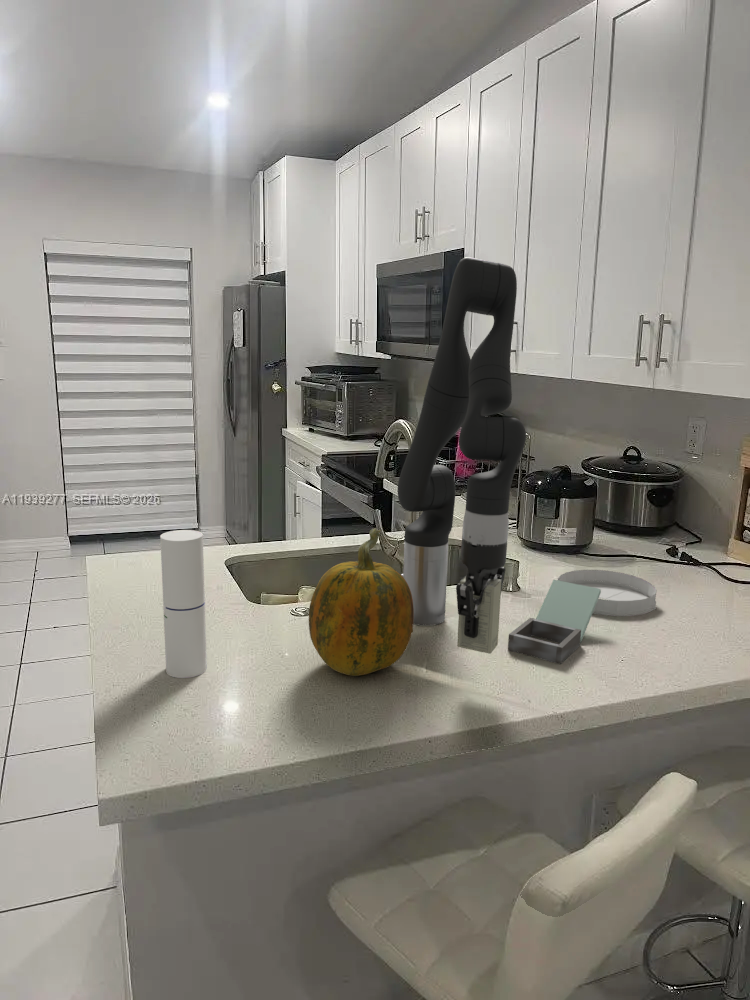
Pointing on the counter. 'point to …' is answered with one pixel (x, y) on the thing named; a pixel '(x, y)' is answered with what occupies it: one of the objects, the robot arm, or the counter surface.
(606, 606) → the dish
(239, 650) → the counter surface
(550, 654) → the dark grey tray
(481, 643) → the skincare box
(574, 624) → the open box lid
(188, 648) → the cylindrical container
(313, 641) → the pumpkin
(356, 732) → the counter surface
